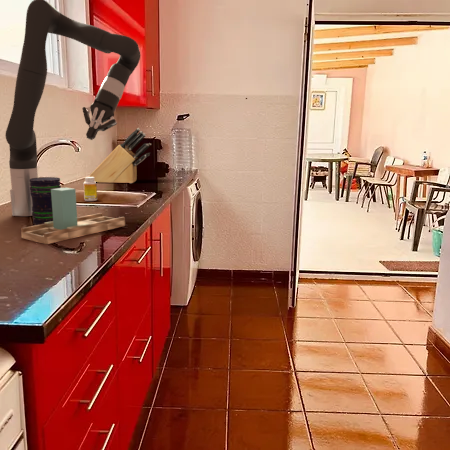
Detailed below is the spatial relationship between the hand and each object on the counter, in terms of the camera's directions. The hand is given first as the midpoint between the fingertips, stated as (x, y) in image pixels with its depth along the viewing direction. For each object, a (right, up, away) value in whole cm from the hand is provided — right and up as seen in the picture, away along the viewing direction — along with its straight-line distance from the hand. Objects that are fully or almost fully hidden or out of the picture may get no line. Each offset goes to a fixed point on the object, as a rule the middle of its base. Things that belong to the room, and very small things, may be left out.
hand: (89, 138), depth 158 cm
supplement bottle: (-13, -19, +47) cm, 52 cm away
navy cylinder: (-15, -29, +2) cm, 32 cm away
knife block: (-14, -5, +109) cm, 110 cm away
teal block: (-3, -30, -16) cm, 34 cm away
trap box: (-1, -32, -12) cm, 34 cm away
